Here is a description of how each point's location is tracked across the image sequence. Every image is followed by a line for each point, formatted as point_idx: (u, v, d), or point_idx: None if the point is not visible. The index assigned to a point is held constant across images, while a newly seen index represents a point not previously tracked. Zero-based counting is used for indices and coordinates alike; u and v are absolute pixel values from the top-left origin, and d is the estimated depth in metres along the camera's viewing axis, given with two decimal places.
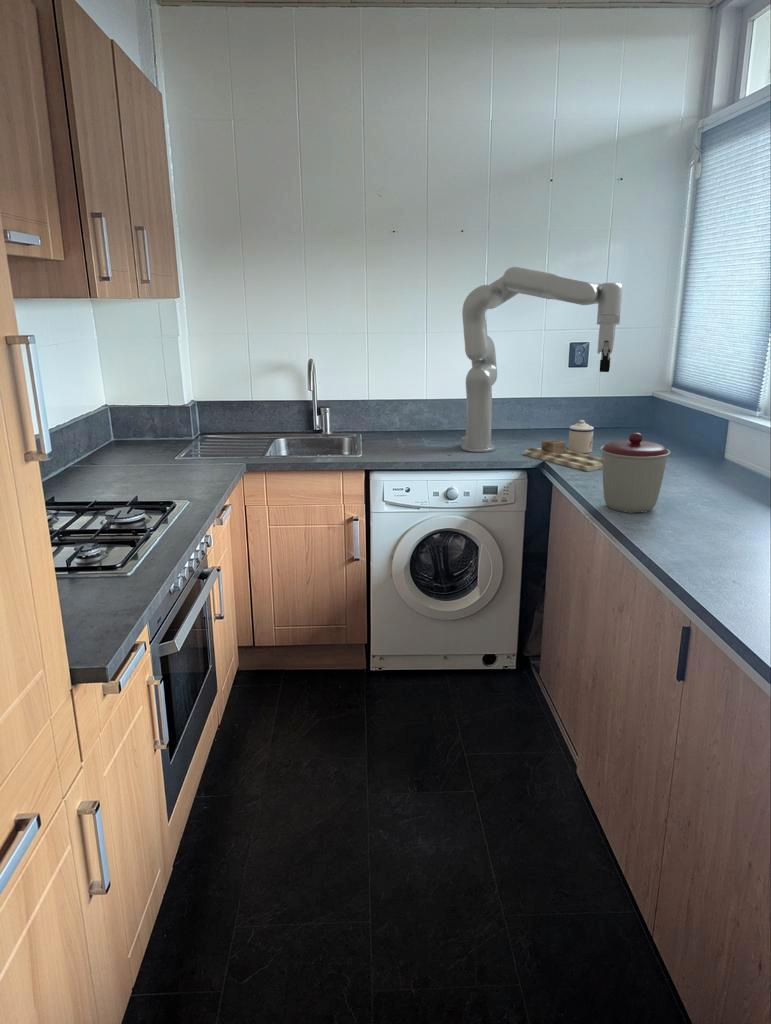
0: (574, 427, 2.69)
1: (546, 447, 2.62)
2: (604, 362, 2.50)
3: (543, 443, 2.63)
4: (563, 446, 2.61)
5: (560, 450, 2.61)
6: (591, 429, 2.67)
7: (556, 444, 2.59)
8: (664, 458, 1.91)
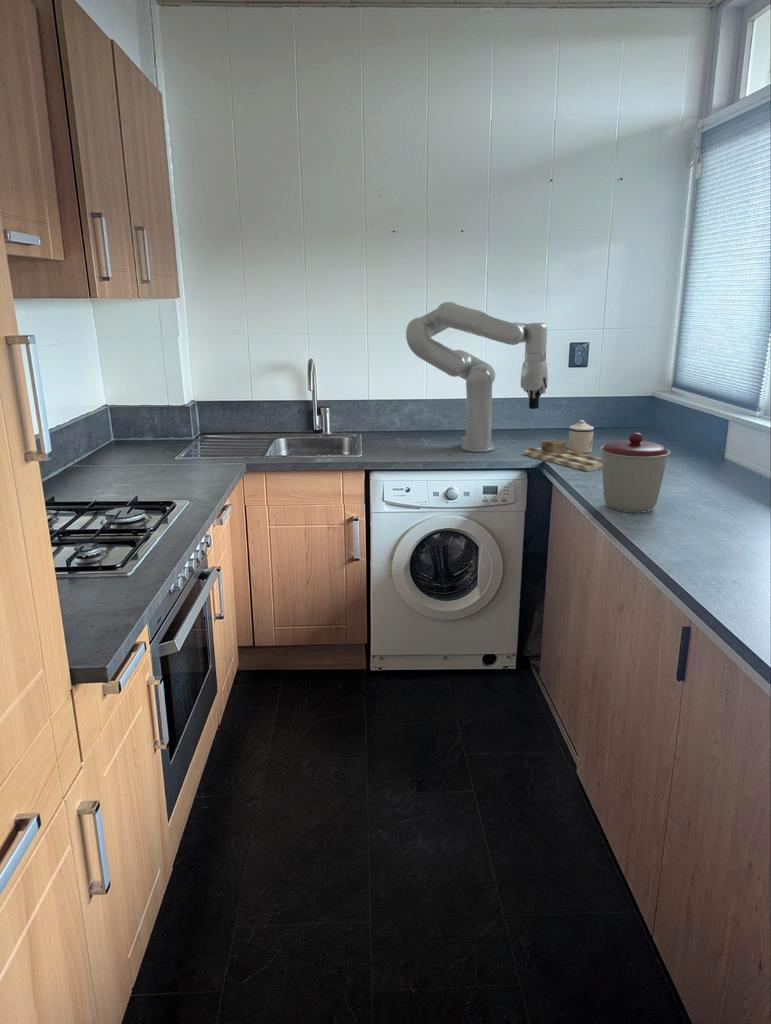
0: (574, 427, 2.69)
1: (546, 447, 2.62)
2: (536, 400, 2.67)
3: (543, 443, 2.63)
4: (563, 446, 2.61)
5: (560, 450, 2.61)
6: (591, 429, 2.67)
7: (556, 444, 2.59)
8: (664, 458, 1.91)
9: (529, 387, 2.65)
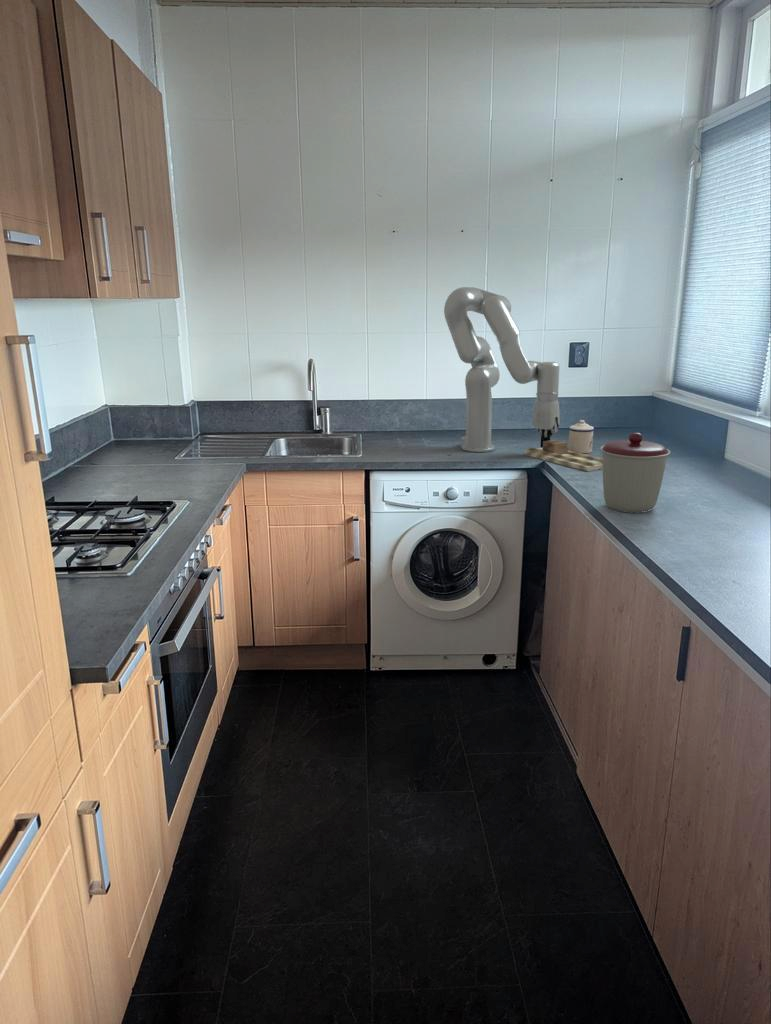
0: (574, 427, 2.69)
1: (547, 447, 2.61)
2: (548, 439, 2.65)
3: (544, 443, 2.62)
4: (564, 446, 2.61)
5: (561, 451, 2.61)
6: (591, 429, 2.67)
7: (557, 444, 2.59)
8: (664, 458, 1.91)
9: (541, 426, 2.63)
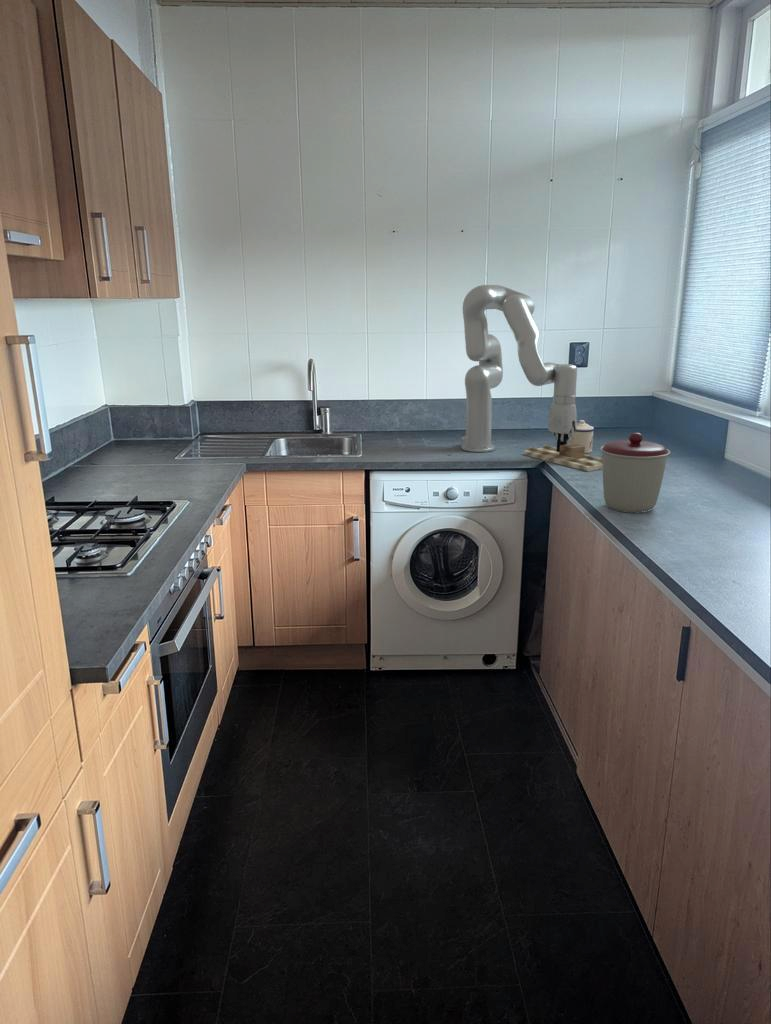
0: None
1: (564, 451, 2.54)
2: (564, 443, 2.58)
3: (561, 447, 2.55)
4: (582, 450, 2.54)
5: (579, 455, 2.54)
6: (591, 429, 2.67)
7: (575, 448, 2.52)
8: (664, 458, 1.91)
9: (557, 430, 2.56)
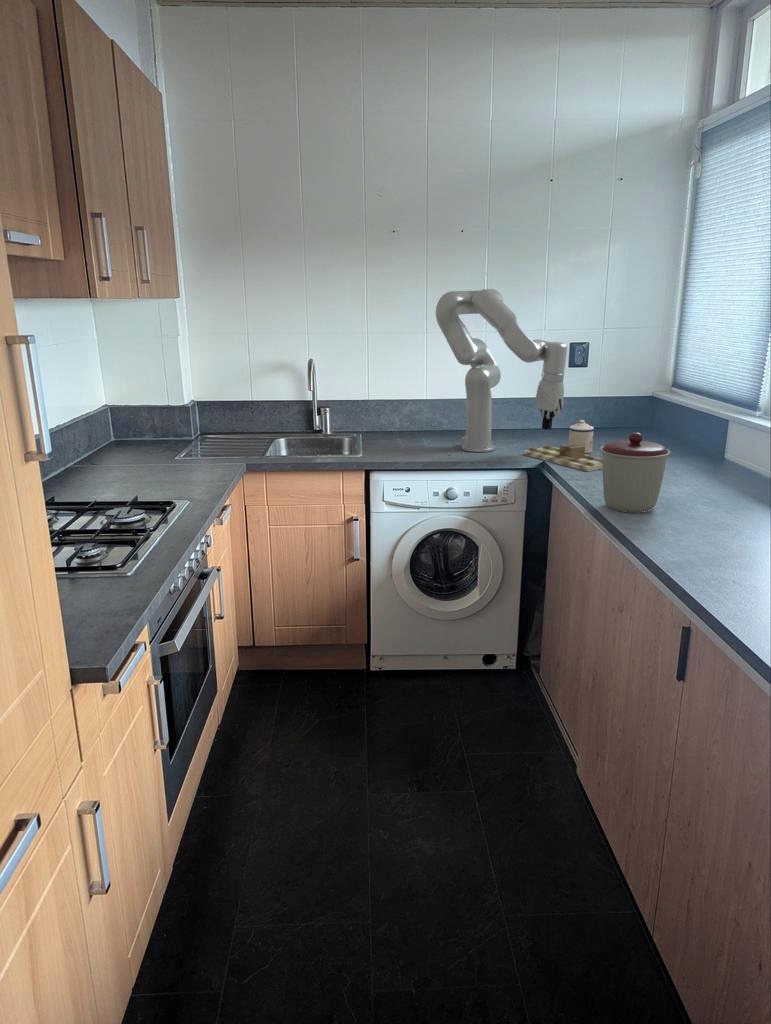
0: (574, 427, 2.69)
1: (564, 451, 2.54)
2: (550, 420, 2.61)
3: (561, 447, 2.55)
4: (582, 450, 2.54)
5: (579, 455, 2.53)
6: (591, 429, 2.67)
7: (575, 448, 2.52)
8: (664, 458, 1.91)
9: (544, 407, 2.59)
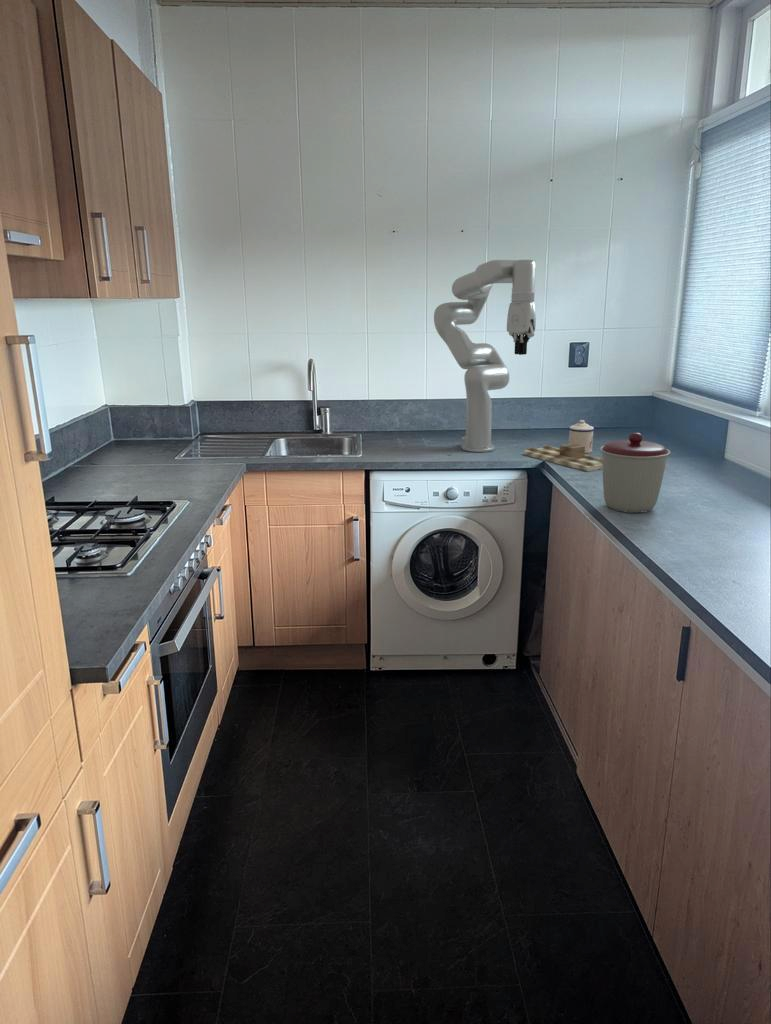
0: (574, 427, 2.69)
1: (564, 451, 2.54)
2: (524, 344, 2.47)
3: (561, 447, 2.55)
4: (582, 450, 2.54)
5: (579, 455, 2.53)
6: (591, 429, 2.67)
7: (575, 448, 2.52)
8: (664, 458, 1.91)
9: (516, 330, 2.46)
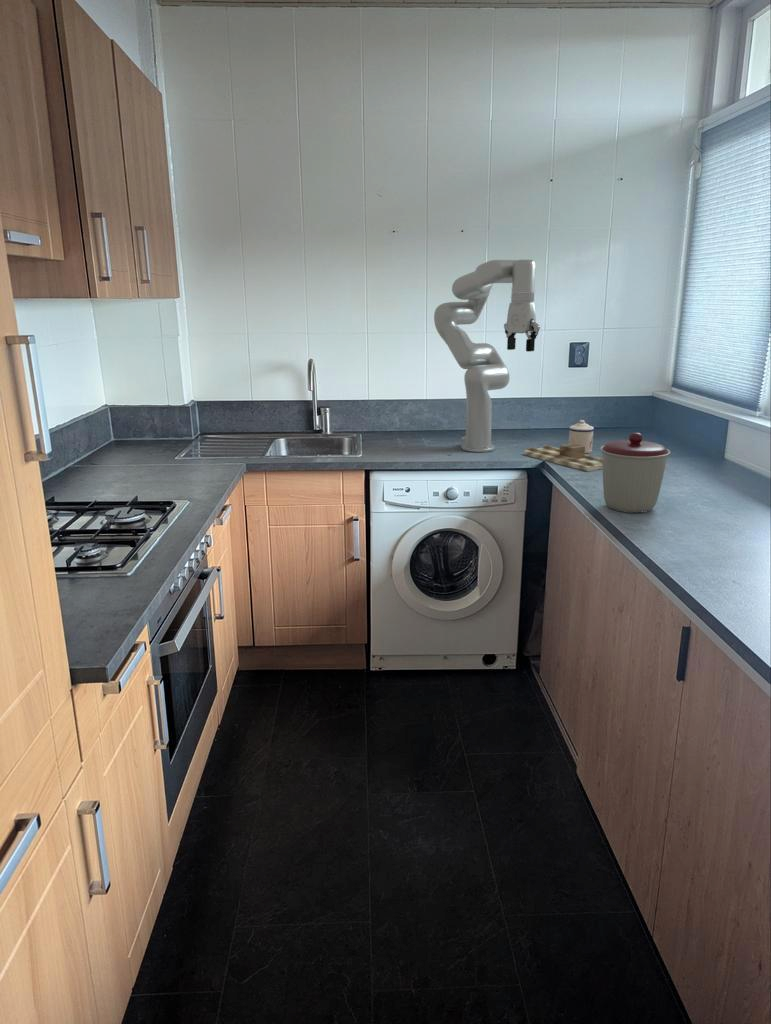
0: (574, 427, 2.69)
1: (564, 451, 2.54)
2: (532, 341, 2.44)
3: (561, 447, 2.55)
4: (582, 450, 2.54)
5: (579, 455, 2.53)
6: (591, 429, 2.67)
7: (575, 448, 2.52)
8: (664, 458, 1.91)
9: (515, 330, 2.46)
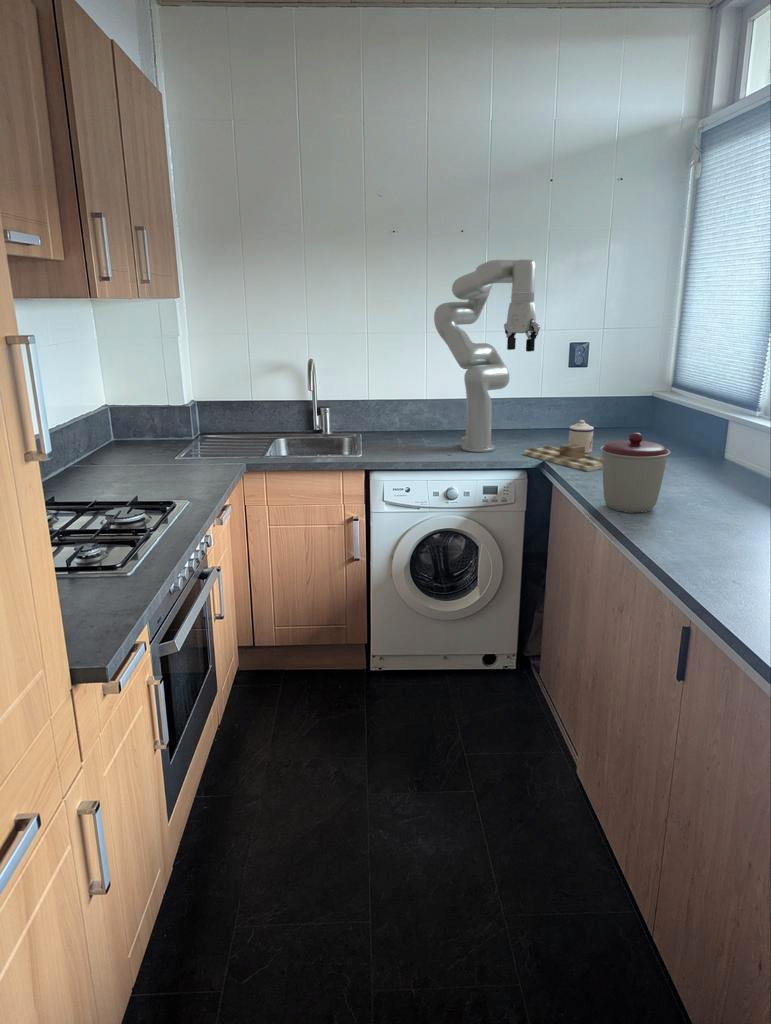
0: (574, 427, 2.69)
1: (564, 451, 2.54)
2: (532, 341, 2.44)
3: (561, 447, 2.55)
4: (582, 450, 2.54)
5: (579, 455, 2.53)
6: (591, 429, 2.67)
7: (575, 448, 2.52)
8: (664, 458, 1.91)
9: (515, 330, 2.46)
